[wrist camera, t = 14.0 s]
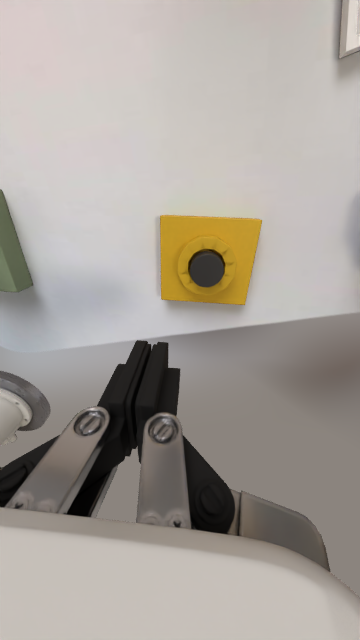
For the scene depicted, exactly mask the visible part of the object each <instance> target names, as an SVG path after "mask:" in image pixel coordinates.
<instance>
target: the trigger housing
mask: <svg viewBox="0 0 360 640" xmlns="http://www.w3.org/2000/svg"><path fill="white" fill-rule="evenodd" d="M261 224H262V220H260V219H250V218H225V217H201V216H177V215H162V216H160V234H161V299H162V300H177V301H193V302H208V303H223V304H238V305H245V301H246V296H247V292H248V287H249V282H250V277H251V272H252V267H253V263H254V258H255V253H256V248H257V243H258V238H259V234H260V229H261ZM204 251H210V252H213V253H215V254H217V255H218V256H219V257H220V259H221V261H222V263H223V266H224V274H223V277H222V279H221V280H220V282H219V283H217V284H216V285H214V286H212V287H201V286H199V285H197V284H196V283H194V281H193V280H192V278H191V275H190V267H191V262H192V260H193V259H194V257H195V256H196V255H197V254H199V253H201V252H204Z"/></svg>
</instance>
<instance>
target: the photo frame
mask: <svg viewBox="0 0 360 640" xmlns="http://www.w3.org/2000/svg"><path fill="white" fill-rule="evenodd" d="M358 9H359V0H342V18H341V36H340V53H339V59H340V58H342V57H345V56H347V55H350V54H352V53H355V52H357V51H359V50H360V35H357V36H356V34H357V22H358Z"/></svg>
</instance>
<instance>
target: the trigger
mask: <svg viewBox="0 0 360 640" xmlns="http://www.w3.org/2000/svg"><path fill="white" fill-rule="evenodd" d="M223 274H224V266H223V263H222V261H221V259H220V257H219V256H218V255H217V254H215V253H213V252H210V251H204V252H201V253H199V254H197V255H196V256H195V257H194V259H193V260H192V262H191V267H190V275H191V278H192V280H193V281H194V283H196V284H197V285H199V286H201V287H212V286H214V285H216V284H217V283H219V282H220V280H221V279H222V277H223Z"/></svg>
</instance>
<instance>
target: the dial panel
mask: <svg viewBox="0 0 360 640" xmlns="http://www.w3.org/2000/svg"><path fill="white" fill-rule="evenodd" d="M32 285H33V283H32V280H31V277H30V274H29V271H28V268H27V265H26V262H25V259H24V256H23V253H22V250H21V247H20V244H19V241H18V238H17V235H16V232H15V229H14V226H13V223H12V220H11V217H10V214H9V211H8V208H7V205H6V202H5V199H4V196H3V193H2V190H1V189H0V291H5V292H20V291H22V290H24V289H26V288H28V287H30V286H32Z"/></svg>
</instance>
